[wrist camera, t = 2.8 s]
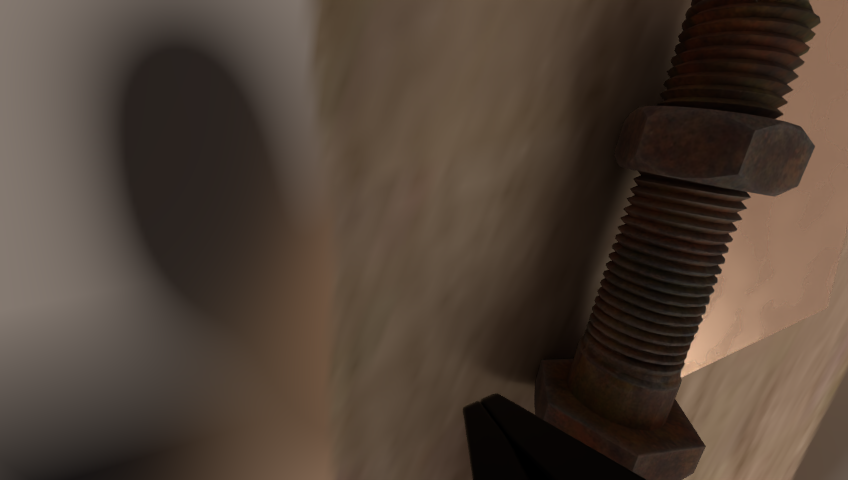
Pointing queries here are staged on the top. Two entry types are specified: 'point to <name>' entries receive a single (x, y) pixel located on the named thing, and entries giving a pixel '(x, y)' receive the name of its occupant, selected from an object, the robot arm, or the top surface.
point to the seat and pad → (789, 213)
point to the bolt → (681, 229)
